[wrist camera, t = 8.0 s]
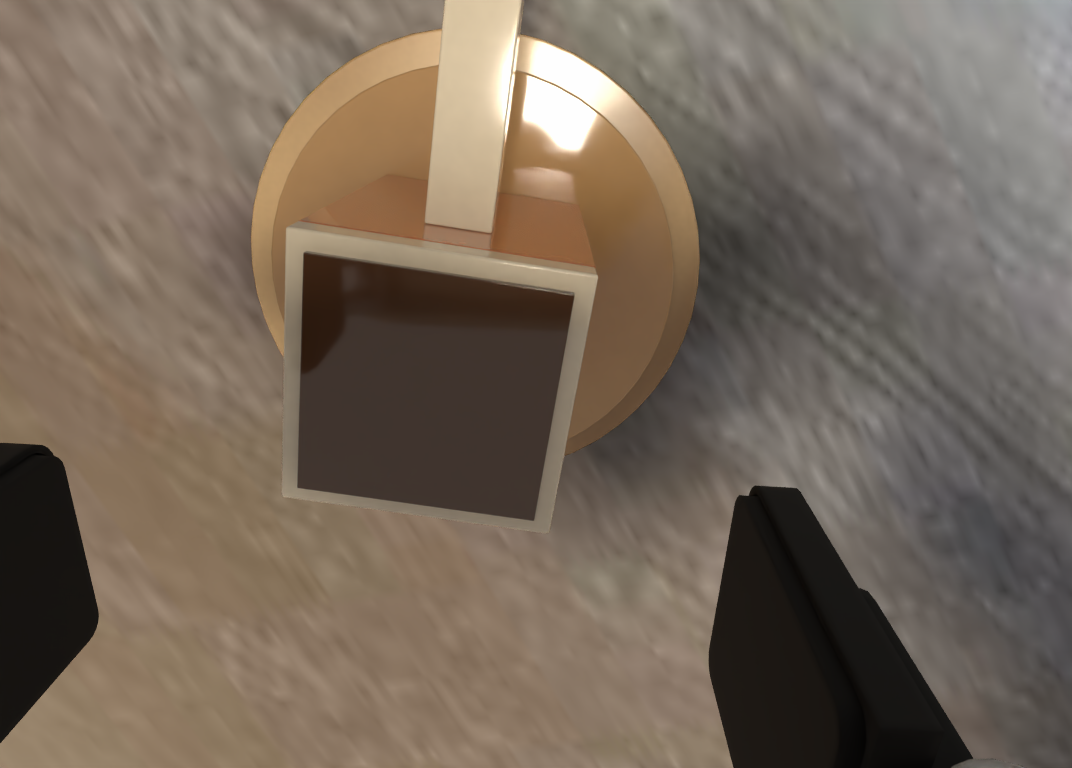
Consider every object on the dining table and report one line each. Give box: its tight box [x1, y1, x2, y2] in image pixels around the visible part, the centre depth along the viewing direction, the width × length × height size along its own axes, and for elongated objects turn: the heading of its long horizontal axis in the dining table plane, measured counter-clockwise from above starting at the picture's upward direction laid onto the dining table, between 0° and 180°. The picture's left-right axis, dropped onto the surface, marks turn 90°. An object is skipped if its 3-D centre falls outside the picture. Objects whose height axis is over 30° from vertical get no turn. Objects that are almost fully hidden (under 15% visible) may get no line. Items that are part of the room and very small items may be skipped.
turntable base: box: [251, 29, 700, 456], centre depth 24 cm, size 15×15×1 cm
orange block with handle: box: [271, 0, 674, 534], centre depth 18 cm, size 16×13×10 cm
